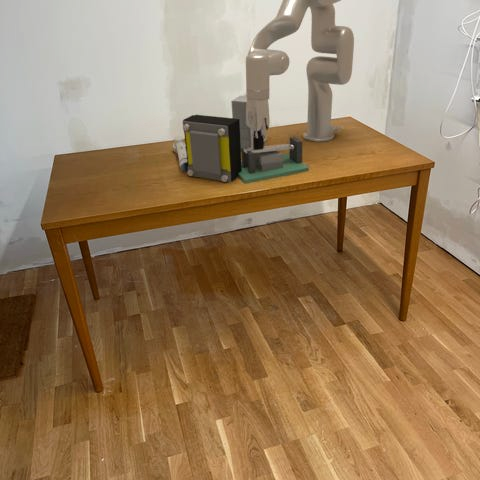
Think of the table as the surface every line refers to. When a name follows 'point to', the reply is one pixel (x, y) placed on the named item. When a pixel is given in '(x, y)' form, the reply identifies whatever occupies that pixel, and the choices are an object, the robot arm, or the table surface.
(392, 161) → the table surface
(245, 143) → the hard drive box
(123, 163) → the table surface
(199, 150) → the electrical component
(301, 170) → the board
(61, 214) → the table surface
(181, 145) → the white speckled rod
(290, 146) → the grey long flat bar
